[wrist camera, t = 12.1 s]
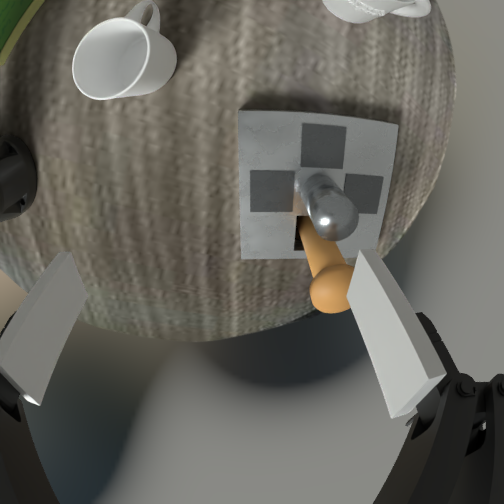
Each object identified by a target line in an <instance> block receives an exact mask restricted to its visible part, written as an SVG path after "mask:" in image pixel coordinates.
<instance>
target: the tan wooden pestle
mask: <svg viewBox="0 0 504 504" xmlns="http://www.w3.org/2000/svg"><path fill="white" fill-rule="evenodd" d="M297 228H298V231H299V234H300V237H301V240H302V243H303V246H304V249H305V252H306V256H307V259H308V262H309V265H310V269H311V272H312V275H313V280H312V281H311V284H310V295H311V299H312V303H313V305H314V306H315V307H316V308H317V309H318V310H320V311H322V312H326V313H337V312H341V311H344V310H347V309H349V308H350V304H349V302H348V300H347V297H346V296H347V292H348V289H349V286H350V282H351V279H352V276H353V272H354V267H352V266H350V265H347V264H346V262H345V260H344V258H343V256H342V254H341V252H340V250H339V248H338V246H337V244H336V242H335V241H328V240H325V239H323V238H321V237H320V236H319V235H318V233H317V232H316V230H315V227H314V225H313V223H312V220H311V218H310V216H300V217H299V218H298V221H297Z"/></svg>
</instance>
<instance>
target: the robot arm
mask: <svg viewBox="0 0 504 504" xmlns="http://www.w3.org/2000/svg"><path fill="white" fill-rule="evenodd" d="M36 187H37V178H36V170H35V165H34V162H33V159H32V156H31V154H30V152H29V150H28V148H27V146H26V145H25V144H24V142H23V141H22V140H21V139H19V138H18V137H16V136H14V135H4V136H2V137H0V222H2V221H6V220H9V219H12V218H16V217H18V216H20V215H21V214H22V213H24V212H25V211H26V210H27V209H28V208H29V207H30V206H31V205H32V203H33V201H34V198H35V194H36ZM346 297H347V300H348V302H349V304H350V307H351V309H352V311H353V314H354V316H355V319H356V321H357V324H358V326H359V329H360V332H361V334H362V337H363V339H364V341H365V344H366V347H367V349H368V352H369V355H370V358H371V360H372V363H373V366H374V369H375V371H376V374H377V377H378V380H379V383H380V386H381V389H382V392H383V395H384V398H385V401H386V403H387V407H388V410H389V413H390V416H391V418H395V417H398V416H402V415H405V414H408V413H409V412H410V411H411V410H412V409H413V408H414V407H416V408H417V411H418V413H417V414H416V415H414V416H413V417H412V418H411V419H410V420H409V421H408V422H407V423H406V426H408V425H410V424H411V423H412V422H413V423H412V425H411V428H410V430H409V433H408V435H407V438H406V440H405V442H404V445H403V447H402V449H401V451H400V454H399V456H398V458H397V460H396V462H395V464H394V466H393V468H392V470H391V472H390V474H389V476H388V478H387V480H386V482H385V483H384V485H383V487H382V489H381V491H380V492H379V494H378V496H377V497H376V499H375V501H374V502H373V504H504V374H497V375H496V376H495V377H494V378H493V379H492V380H491V381H490V382H475V381H474V380H473V378H472V377H470V376H469V375H467V374H464V373H459V371H458V369H457V368H456V366H455V364H454V362H453V360H452V358H451V356H450V354H449V352H448V350H447V348H446V346H445V345H444V343H443V341H441V337H440V336H439V334H438V333H437V330H436V329H435V327H434V325H433V324H432V322H431V320H429V318H427V317H426V316H425V315H424V314H423V313H422V312H420V313H414V311H413V309H412V307H411V305H410V304H409V302H408V300H407V299H406V297H405V295H404V294H403V292H402V291H401V289H400V287H399V286H398V284H397V283H396V281H395V279H394V278H393V276H392V275H391V273H390V272H389V270H388V269H387V267H386V266H385V264H384V263H383V261H382V260H381V258H380V257H379V255H378V254H377V252H376V251H375V249H360V250H359V254H358V257H357V261H356V265H355V268H354V272H353V276H352V279H351V282H350V286H349V289H348V292H347V296H346ZM87 298H88V294H87V292H86V290H85V287H84V285H83V282H82V280H81V277H80V275H79V272H78V270H77V267H76V265H75V262H74V259H73V256H72V254H71V252H59V253H58V254H57V255H56V257H55V258H54V259H53V261H52V262H51V263H50V264H49V266H48V267H47V268H46V270H45V271H44V272H43V274H42V275H41V276H40V278H39V279H38V281H37V282H36V283H35V285H34V286H33V288H32V289H31V290H30V292H29V293H28V295H27V296H26V298H25V299H24V301H23V302H22V304H21V305H20V307H19V308H18V310H17V311H16V312H15V313H14V314H13V315H12V316H11V317H10V318H9V320H8V321H7V323H6V325H5V328H3V330H2V331H1V333H0V334H1V335H0V504H60V503H59V501H58V500H57V497H56V496H55V494H54V492H53V489H52V487H51V485H50V483H49V481H48V479H47V476H46V474H45V472H44V469H43V467H42V464H41V462H40V459H39V457H38V454H37V451H36V449H35V446H34V443H33V440H32V437H31V433H30V430H29V427H28V423H27V420H26V416H25V412H24V408H23V404H22V402H21V400H20V399H19V398H18V397H19V395H20V394H21V395H23V397H24V398H25V399H26V400H28V401H29V402H32V403H35V404H37V405H41V402H42V399H43V396H44V393H45V391H46V388H47V385H48V383H49V380H50V377H51V375H52V372H53V370H54V367H55V365H56V363H57V360H58V358H59V355H60V353H61V351H62V349H63V346H64V344H65V342H66V340H67V338H68V335H69V333H70V331H71V329H72V327H73V325H74V323H75V321H76V319H77V317H78V315H79V313H80V311H81V309H82V307H83V305H84V303H85V301H86V299H87ZM485 422H486V429H485V430H483V427H482V426H483V425H482V424H483V423H485Z"/></svg>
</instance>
